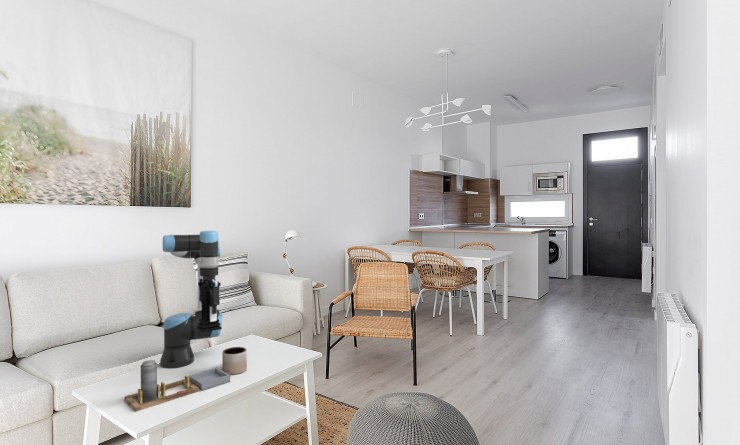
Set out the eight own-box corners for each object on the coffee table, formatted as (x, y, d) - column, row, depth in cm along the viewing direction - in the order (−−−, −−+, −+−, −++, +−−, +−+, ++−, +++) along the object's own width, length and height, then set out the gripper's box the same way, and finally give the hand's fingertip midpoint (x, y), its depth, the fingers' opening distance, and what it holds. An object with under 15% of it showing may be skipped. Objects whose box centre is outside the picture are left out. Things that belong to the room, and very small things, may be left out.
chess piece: (215, 325, 181) (215, 280, 181) (221, 329, 175) (221, 282, 174) (196, 328, 176) (196, 282, 175) (202, 332, 169) (202, 284, 169)
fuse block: (124, 400, 158) (123, 362, 158) (185, 382, 176) (185, 348, 175) (135, 411, 149) (135, 371, 149) (199, 391, 166) (198, 355, 166)
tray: (188, 382, 175) (188, 375, 175) (216, 374, 185) (216, 367, 185) (201, 391, 167) (201, 383, 167) (230, 381, 176) (230, 375, 176)
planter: (221, 376, 182) (221, 355, 182) (223, 367, 192) (223, 347, 192) (246, 374, 185) (246, 353, 185) (246, 365, 195) (246, 345, 195)
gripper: (190, 265, 179) (190, 317, 179) (211, 269, 165) (211, 325, 166) (207, 263, 184) (207, 314, 185) (228, 267, 171) (228, 322, 171)
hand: (209, 319), depth 175 cm, fingers closed on chess piece, 7 cm apart
